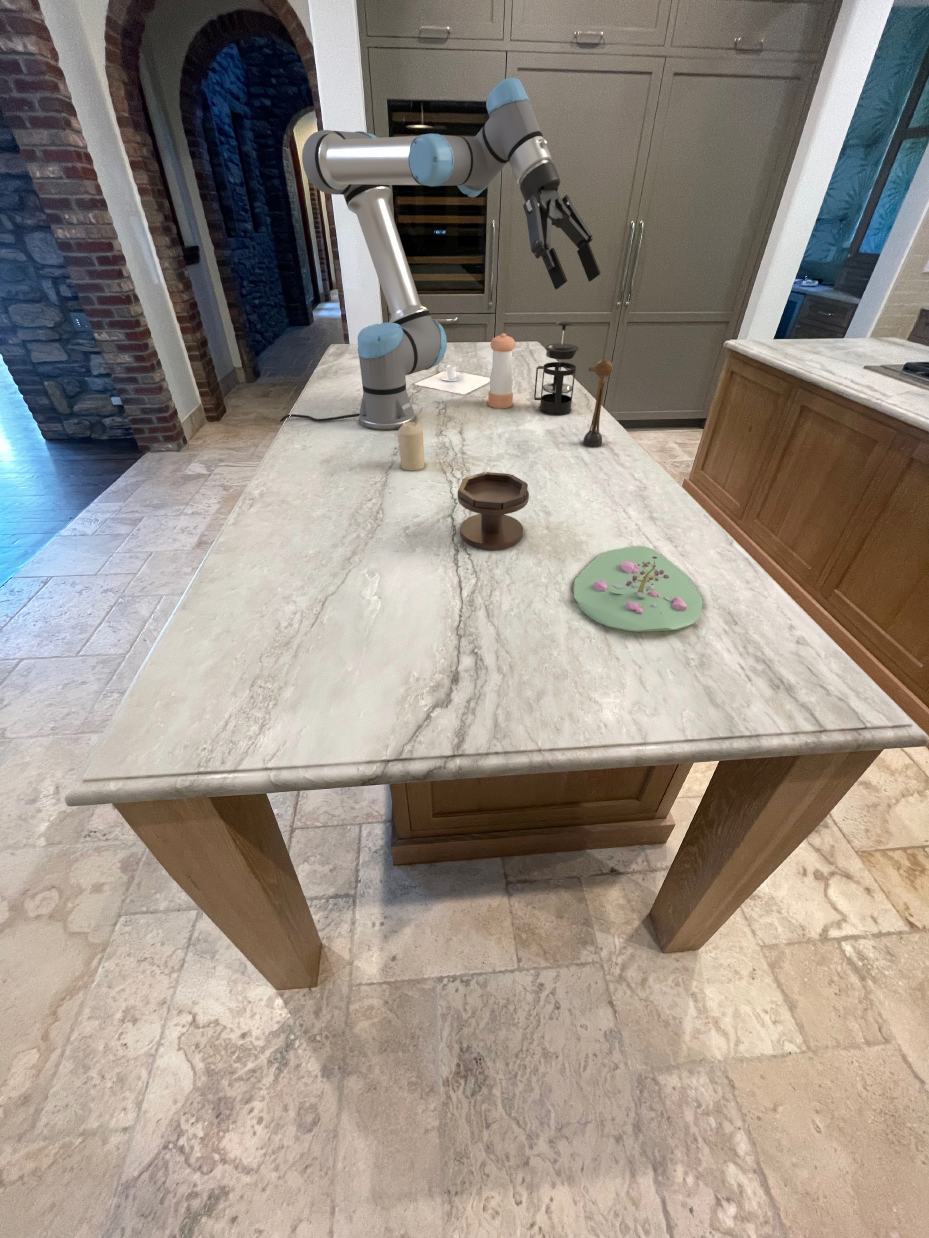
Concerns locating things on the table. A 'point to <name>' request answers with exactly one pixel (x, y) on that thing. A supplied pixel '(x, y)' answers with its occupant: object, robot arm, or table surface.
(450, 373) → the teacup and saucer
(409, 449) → the candle
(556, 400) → the french press
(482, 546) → the candle stand
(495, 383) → the salt shaker
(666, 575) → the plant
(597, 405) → the wooden tabletop sculpture
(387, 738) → the table surface
